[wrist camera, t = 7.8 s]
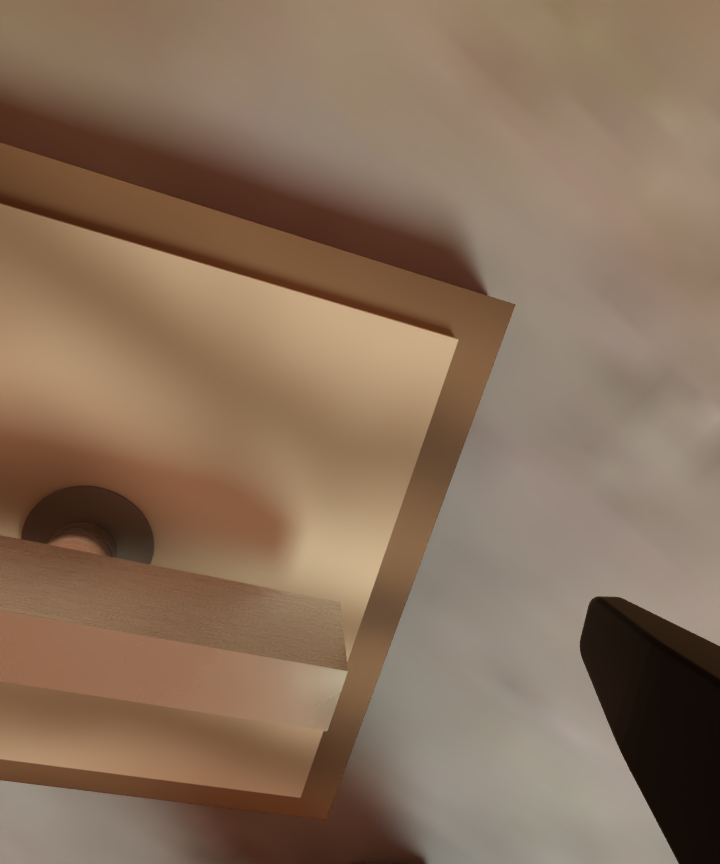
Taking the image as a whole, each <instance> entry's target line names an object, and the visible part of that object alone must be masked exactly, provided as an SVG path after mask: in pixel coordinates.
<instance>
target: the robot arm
mask: <svg viewBox="0 0 720 864" xmlns="http://www.w3.org/2000/svg"><path fill="white" fill-rule="evenodd" d="M580 652H581V656H582V659H583V662H584V664H585V667H586V669H587V671H588V674H589V676H590V679H591V681H592V684H593V686H594V689H595V691H596V694H597V696H598V698H599V701H600V703H601V706H602V708H603V711H604V713H605V716H606V718H607V721H608V723H609V725H610V728H611V730H612V733H613V735H614V737H615V740H616V742H617V744H618V746H619V749H620V751H621V753H622V755H623V757H624V759H625V761H626V763H627V765H628V767H629V769H630V771H631V773H632V775H633V777H634V779H635V781H636V782H637V784H638V786H639V788H640V790H641V792H642V794H643V796H644V798H645V800H646V802H647V804H648V805H649V807H650V809H651V811H652V813H653V815H654V817H655V819H656V821H657V823H658V825H659V827H660V828H661V830H662V832H663V834H664V836H665V838H666V840H667V842H668V844H669V846H670V848H671V849H672V851H673V853H674V855H675V857H676V859H677V861H678V863H679V864H720V646H718V645H716V644H714V643H712V642H710V641H708V640H706V639H704V638H702V637H700V636H698V635H696V634H694V633H692V632H690V631H688V630H686V629H684V628H682V627H680V626H677V625H675V624H673V623H671V622H669V621H667V620H665V619H663V618H661V617H659V616H657V615H655V614H653V613H651V612H649V611H647V610H645V609H643V608H641V607H639V606H637V605H635V604H633V603H631V602H629V601H627V600H625V599H622V598H620V597H595V598H593V599H592V600H591V602H590V603H589V606H588V610H587V614H586V618H585V623H584V627H583V631H582V635H581V639H580Z"/></svg>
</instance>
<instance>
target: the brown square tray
mask: <svg viewBox="0 0 720 864" xmlns="http://www.w3.org/2000/svg"><path fill="white" fill-rule="evenodd" d="M514 307H515V304H512V303H509V302H506V301H503V300H499V299H496V298H493V297H490V296H487V295H484V294H480V293H477V292H474V291H471V290H468V289H464V288H461V287H458V286H455V285H452V284H449V283H445V282H442V281H439V280H436V279H433V278H430V277H426V276H423V275H420V274H417V273H414V272H410V271H407V270H404V269H401V268H398V267H395V266H391V265H388V264H385V263H382V262H379V261H375V260H372V259H369V258H366V257H363V256H360V255H356V254H353V253H350V252H347V251H344V250H341V249H337V248H334V247H331V246H328V245H325V244H321V243H318V242H315V241H312V240H309V239H306V238H302V237H299V236H296V235H293V234H290V233H287V232H283V231H280V230H277V229H274V228H271V227H267V226H264V225H261V224H258V223H255V222H252V221H248V220H245V219H242V218H239V217H236V216H232V215H229V214H226V213H223V212H220V211H217V210H213V209H210V208H207V207H204V206H201V205H198V204H194V203H191V202H188V201H185V200H182V199H178V198H175V197H172V196H169V195H166V194H163V193H159V192H156V191H153V190H150V189H147V188H144V187H140V186H137V185H134V184H131V183H128V182H124V181H121V180H118V179H115V178H112V177H109V176H105V175H102V174H99V173H96V172H93V171H89V170H86V169H83V168H80V167H77V166H74V165H70V164H67V163H64V162H61V161H58V160H55V159H51V158H48V157H45V156H42V155H39V154H35V153H32V152H29V151H26V150H23V149H20V148H16V147H13V146H10V145H7V144H4V143H0V535H2V536H7V537H12V538H17V539H22V540H27V541H33V542H38V543H43V544H47V543H48V542H49V541H50V539H51V538H52V537H53V536H54V535H55V534H56V533H57V531H58V530H60V529H61V528H62V527H64V526H66V525H68V524H71V523H75V522H88V523H93V524H96V525H98V526H100V527H102V528H104V529H105V530H106V531H107V532H109V533H110V535H111V536H112V537H113V538H114V540H115V542H116V545H117V549H118V556H117V558H119V559H124V560H129V561H134V562H139V563H144V564H149V565H155V566H160V567H165V568H170V569H175V570H180V571H185V572H190V573H195V574H200V575H205V576H211V577H216V578H221V579H226V580H231V581H236V582H241V583H246V584H251V585H256V586H261V587H266V588H272V589H277V590H282V591H287V592H292V593H297V594H302V595H307V596H312V597H317V598H322V599H328V600H333V601H338V602H340V603H341V612H342V621H343V630H344V639H345V648H346V657H347V666H348V673H347V676H346V679H345V682H344V685H343V687H342V690H341V693H340V696H339V699H338V702H337V705H336V708H335V710H334V713H333V716H332V719H331V722H330V725H329V728H328V731H321V730H315V729H308V728H302V727H295V726H289V725H282V724H276V723H269V722H262V721H256V720H249V719H243V718H236V717H230V716H223V715H217V714H210V713H203V712H197V711H190V710H184V709H177V708H171V707H164V706H158V705H151V704H145V703H138V702H131V701H125V700H118V699H112V698H105V697H99V696H92V695H86V694H79V693H72V692H66V691H59V690H53V689H46V688H40V687H33V686H27V685H20V684H13V683H7V682H0V780H3V781H12V782H20V783H28V784H36V785H44V786H52V787H60V788H68V789H77V790H85V791H93V792H101V793H109V794H117V795H125V796H134V797H142V798H150V799H158V800H166V801H174V802H182V803H190V804H199V805H207V806H215V807H223V808H231V809H239V810H247V811H255V812H264V813H272V814H280V815H288V816H296V817H304V818H312V819H321V820H326V819H327V816H328V814H329V811H330V808H331V805H332V803H333V800H334V797H335V794H336V792H337V789H338V786H339V784H340V781H341V778H342V775H343V773H344V770H345V767H346V764H347V762H348V759H349V756H350V754H351V751H352V748H353V745H354V743H355V740H356V737H357V735H358V732H359V729H360V726H361V724H362V721H363V718H364V715H365V713H366V710H367V707H368V705H369V702H370V699H371V696H372V694H373V691H374V688H375V686H376V683H377V680H378V677H379V675H380V672H381V669H382V666H383V664H384V661H385V658H386V656H387V653H388V650H389V647H390V645H391V642H392V639H393V636H394V634H395V631H396V628H397V626H398V623H399V620H400V617H401V615H402V612H403V609H404V607H405V604H406V601H407V598H408V596H409V593H410V590H411V587H412V585H413V582H414V579H415V577H416V574H417V571H418V568H419V566H420V563H421V560H422V558H423V555H424V552H425V549H426V547H427V544H428V541H429V538H430V536H431V533H432V530H433V528H434V525H435V522H436V519H437V517H438V514H439V511H440V508H441V506H442V503H443V500H444V498H445V495H446V492H447V489H448V487H449V484H450V481H451V479H452V476H453V473H454V470H455V468H456V465H457V462H458V459H459V457H460V454H461V451H462V449H463V446H464V443H465V440H466V438H467V435H468V432H469V429H470V427H471V424H472V421H473V419H474V416H475V413H476V410H477V408H478V405H479V402H480V400H481V397H482V394H483V391H484V389H485V386H486V383H487V380H488V378H489V375H490V372H491V370H492V367H493V364H494V361H495V359H496V356H497V353H498V351H499V348H500V345H501V342H502V340H503V337H504V334H505V331H506V329H507V326H508V323H509V321H510V318H511V315H512V312H513V310H514Z"/></svg>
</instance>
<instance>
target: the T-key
mask: <svg viewBox="0 0 720 864" xmlns="http://www.w3.org/2000/svg"><path fill="white" fill-rule="evenodd" d="M117 556H118V549H117V545H116V542H115V540H114V538H113V537H112V536H111V535H110V533H109V532H107V531H106V530H105V529H104V528H102V527H100V526H98V525H96V524H93V523H88V522H75V523H71V524H68V525H66V526H64V527H62V528H61V529H60V530H58V531H57V533H56V534H55V535H54V536H53V537H52V538H51V539H50V541H49V542H48V543H47V544H43V543H38V542H33V541H27V540H22V539H17V538H12V537H7V536H2V535H0V682H7V683H13V684H20V685H27V686H33V687H40V688H46V689H53V690H59V691H66V692H72V693H79V694H86V695H92V696H99V697H105V698H112V699H118V700H125V701H131V702H138V703H145V704H151V705H158V706H164V707H171V708H177V709H184V710H190V711H197V712H203V713H210V714H217V715H223V716H230V717H236V718H243V719H249V720H256V721H262V722H269V723H276V724H282V725H289V726H295V727H302V728H308V729H315V730H321V731H328V728H329V725H330V722H331V719H332V716H333V713H334V710H335V708H336V705H337V702H338V699H339V696H340V693H341V690H342V687H343V685H344V682H345V679H346V676H347V673H348V666H347V657H346V648H345V639H344V630H343V621H342V612H341V603H340V602H338V601H333V600H328V599H322V598H317V597H312V596H307V595H302V594H297V593H292V592H287V591H282V590H277V589H272V588H266V587H261V586H256V585H251V584H246V583H241V582H236V581H231V580H226V579H221V578H216V577H211V576H205V575H200V574H195V573H190V572H185V571H180V570H175V569H170V568H165V567H160V566H155V565H149V564H144V563H139V562H134V561H129V560H124V559H119V558H117Z"/></svg>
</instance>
